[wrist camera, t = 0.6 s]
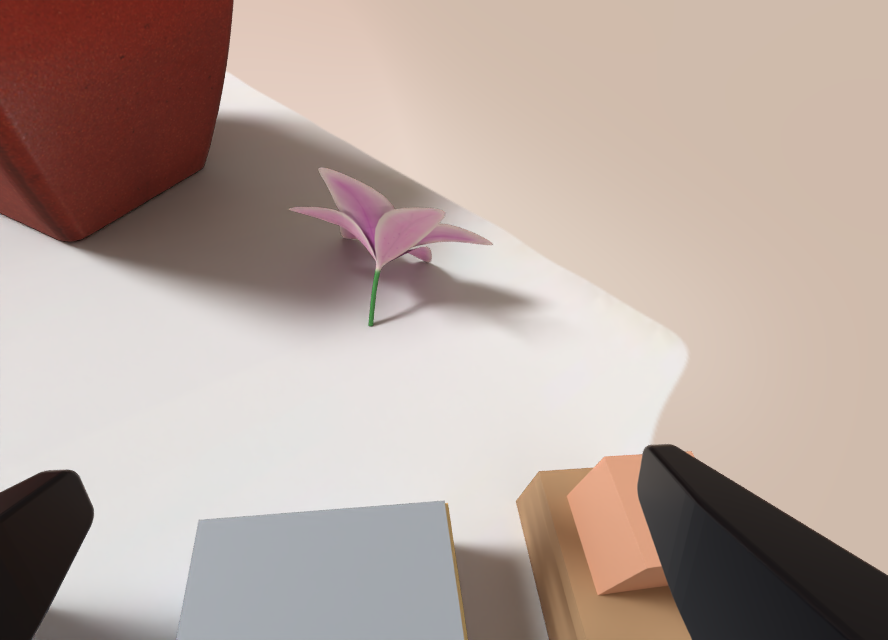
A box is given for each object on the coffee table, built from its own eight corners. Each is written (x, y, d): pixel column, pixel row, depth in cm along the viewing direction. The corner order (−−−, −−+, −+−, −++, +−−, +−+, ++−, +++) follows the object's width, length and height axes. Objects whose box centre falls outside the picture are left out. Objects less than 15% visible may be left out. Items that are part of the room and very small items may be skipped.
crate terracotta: (683, 583, 20) (745, 555, 17) (597, 595, 19) (647, 567, 16) (643, 489, 22) (691, 451, 19) (566, 495, 21) (604, 456, 18)
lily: (492, 322, 34) (513, 186, 31) (402, 371, 24) (421, 180, 21) (362, 286, 40) (370, 168, 37) (245, 316, 30) (242, 156, 27)
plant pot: (270, 163, 41) (245, -87, 28) (72, 298, 28) (-129, -52, 16) (90, 91, 43) (-5, -168, 31) (-168, 185, 30) (-506, -195, 18)
